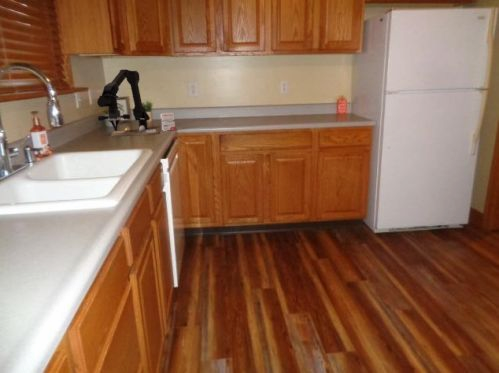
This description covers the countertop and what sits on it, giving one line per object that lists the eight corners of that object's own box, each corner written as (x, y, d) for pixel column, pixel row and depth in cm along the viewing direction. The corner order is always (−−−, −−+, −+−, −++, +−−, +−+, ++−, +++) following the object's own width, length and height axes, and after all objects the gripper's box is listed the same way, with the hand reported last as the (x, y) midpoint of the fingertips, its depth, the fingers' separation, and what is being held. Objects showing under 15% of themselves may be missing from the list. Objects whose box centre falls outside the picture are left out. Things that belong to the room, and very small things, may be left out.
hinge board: (113, 134, 247) (112, 126, 245) (158, 131, 253) (157, 124, 252) (111, 137, 235) (110, 129, 234) (158, 134, 242) (157, 126, 240)
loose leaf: (114, 132, 245) (113, 127, 244) (131, 131, 247) (130, 126, 246) (112, 134, 237) (112, 128, 236) (130, 133, 239) (129, 127, 238)
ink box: (174, 129, 260) (172, 112, 257) (175, 130, 256) (174, 112, 252) (161, 130, 257) (160, 113, 254) (163, 131, 252) (161, 113, 249)
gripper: (95, 107, 227) (98, 133, 231) (127, 106, 231) (130, 131, 235) (97, 106, 237) (101, 131, 242) (128, 104, 241) (131, 129, 246)
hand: (116, 130), depth 241 cm, fingers closed
